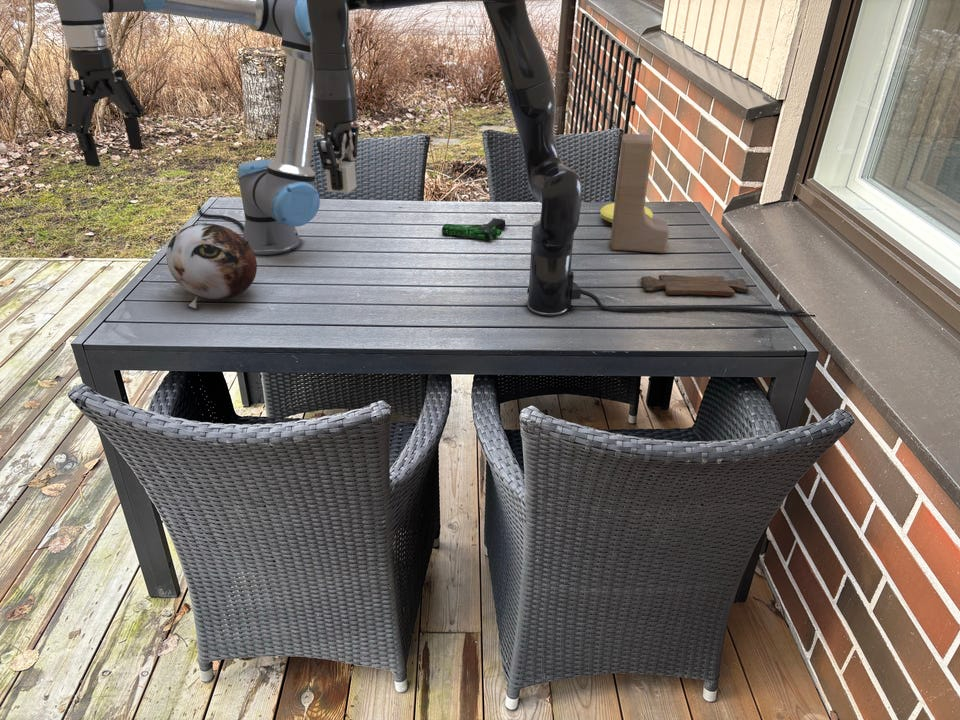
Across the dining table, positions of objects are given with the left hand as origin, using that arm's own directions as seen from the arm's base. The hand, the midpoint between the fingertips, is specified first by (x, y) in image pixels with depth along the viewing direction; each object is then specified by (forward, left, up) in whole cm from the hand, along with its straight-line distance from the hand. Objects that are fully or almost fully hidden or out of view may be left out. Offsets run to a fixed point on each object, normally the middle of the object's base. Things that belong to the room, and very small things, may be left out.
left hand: (116, 157), depth 150 cm
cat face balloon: (+12, +10, -33) cm, 36 cm away
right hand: (+50, +16, -1) cm, 52 cm away
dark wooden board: (+104, +80, -33) cm, 135 cm away
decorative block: (+82, +96, -33) cm, 131 cm away
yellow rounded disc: (+71, +114, -33) cm, 138 cm away
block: (+50, +15, -2) cm, 52 cm away
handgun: (+38, +80, -33) cm, 95 cm away
